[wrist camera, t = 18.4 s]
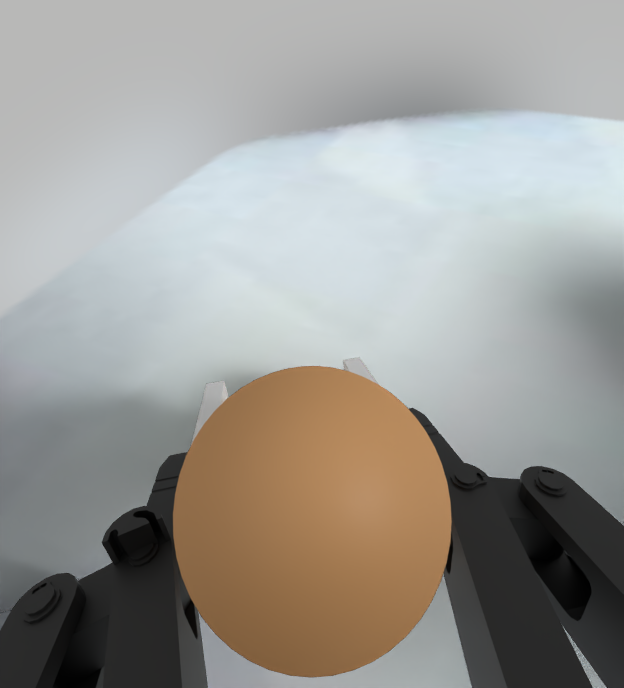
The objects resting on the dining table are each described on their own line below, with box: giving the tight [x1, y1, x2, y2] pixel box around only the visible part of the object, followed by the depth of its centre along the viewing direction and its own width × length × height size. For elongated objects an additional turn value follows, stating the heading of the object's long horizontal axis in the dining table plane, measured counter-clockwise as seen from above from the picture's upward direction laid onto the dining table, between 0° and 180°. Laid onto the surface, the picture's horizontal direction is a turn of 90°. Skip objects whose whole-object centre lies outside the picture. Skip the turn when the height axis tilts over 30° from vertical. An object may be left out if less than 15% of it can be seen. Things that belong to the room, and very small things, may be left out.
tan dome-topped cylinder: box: [173, 366, 452, 677], centre depth 12 cm, size 5×5×12 cm
